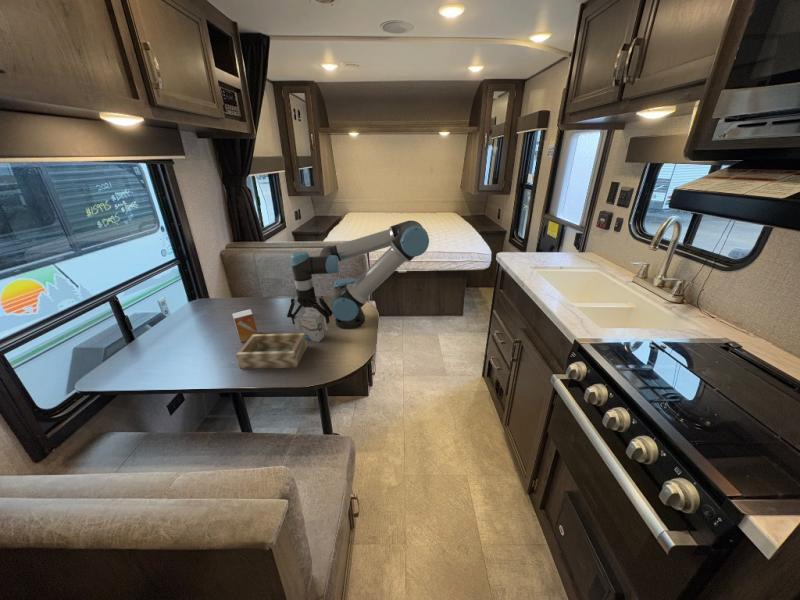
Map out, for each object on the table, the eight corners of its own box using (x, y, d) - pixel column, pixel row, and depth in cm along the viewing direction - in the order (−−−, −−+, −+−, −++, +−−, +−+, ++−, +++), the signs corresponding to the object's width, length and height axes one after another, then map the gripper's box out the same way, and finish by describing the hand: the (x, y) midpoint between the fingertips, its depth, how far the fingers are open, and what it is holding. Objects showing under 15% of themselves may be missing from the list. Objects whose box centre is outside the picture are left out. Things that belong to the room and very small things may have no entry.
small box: (241, 343, 142) (233, 318, 137) (238, 337, 147) (231, 313, 141) (259, 337, 146) (252, 313, 141) (256, 332, 151) (250, 308, 145)
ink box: (303, 339, 143) (297, 311, 137) (309, 334, 148) (304, 306, 141) (319, 342, 141) (314, 314, 134) (324, 336, 145) (320, 309, 139)
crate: (307, 346, 138) (304, 333, 135) (296, 367, 124) (293, 353, 121) (256, 347, 138) (252, 334, 135) (240, 368, 125) (235, 354, 122)
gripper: (335, 283, 136) (340, 324, 145) (279, 284, 137) (288, 325, 146) (331, 290, 129) (337, 332, 138) (273, 291, 130) (283, 334, 139)
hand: (312, 329), depth 142 cm, fingers open, 13 cm apart
